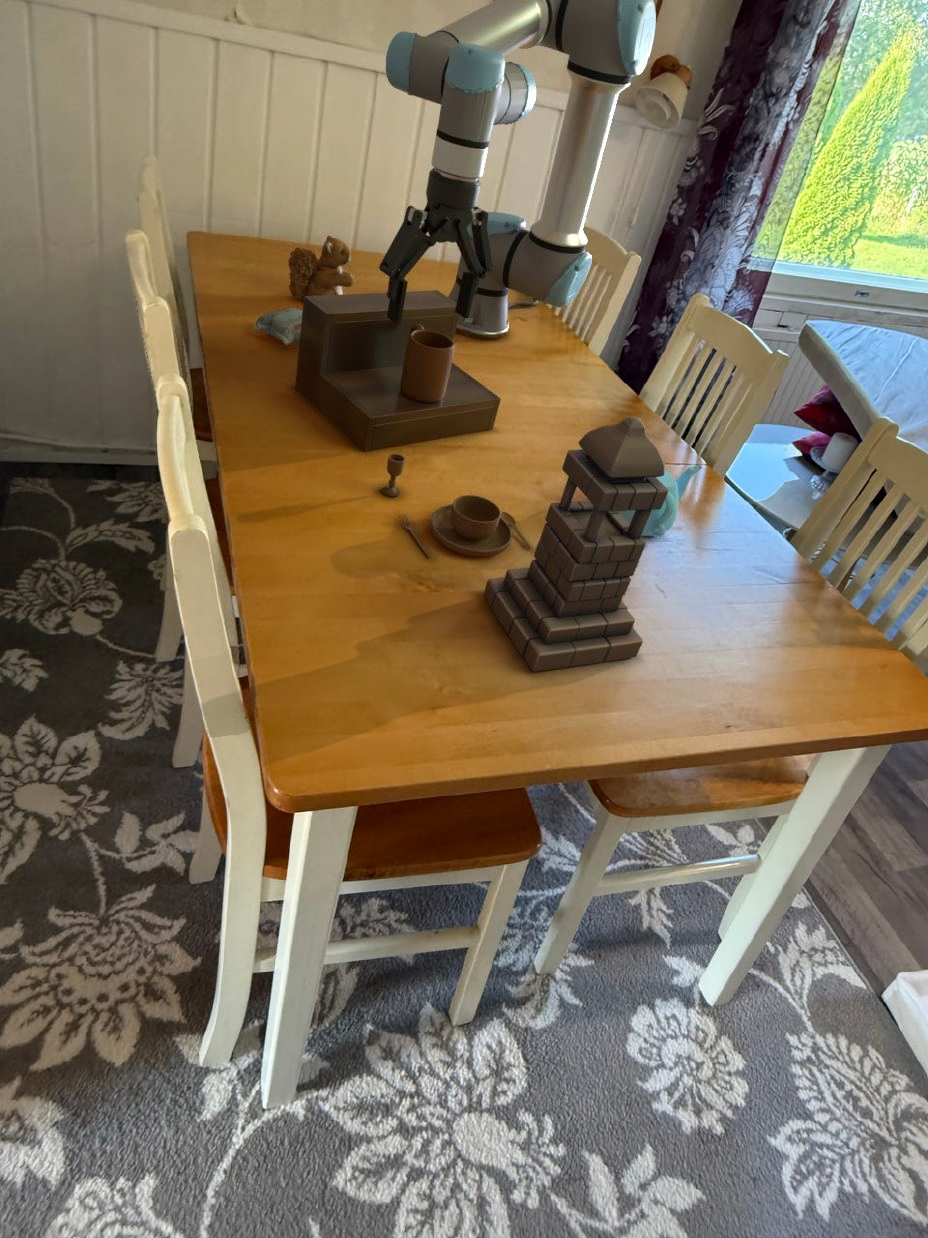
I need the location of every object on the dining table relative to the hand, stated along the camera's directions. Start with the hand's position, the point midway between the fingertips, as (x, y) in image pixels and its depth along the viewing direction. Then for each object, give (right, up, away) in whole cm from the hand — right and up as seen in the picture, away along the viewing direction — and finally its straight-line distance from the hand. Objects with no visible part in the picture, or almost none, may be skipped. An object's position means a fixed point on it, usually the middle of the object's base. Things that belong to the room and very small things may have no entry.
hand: (428, 317), depth 136 cm
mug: (-2, -9, +8) cm, 12 cm away
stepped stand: (-6, -11, +13) cm, 18 cm away
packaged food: (-27, +5, +26) cm, 38 cm away
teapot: (+33, -33, +1) cm, 46 cm away
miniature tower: (+18, -49, -24) cm, 58 cm away
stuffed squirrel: (-25, +18, +43) cm, 53 cm away
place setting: (+4, -34, -10) cm, 35 cm away
